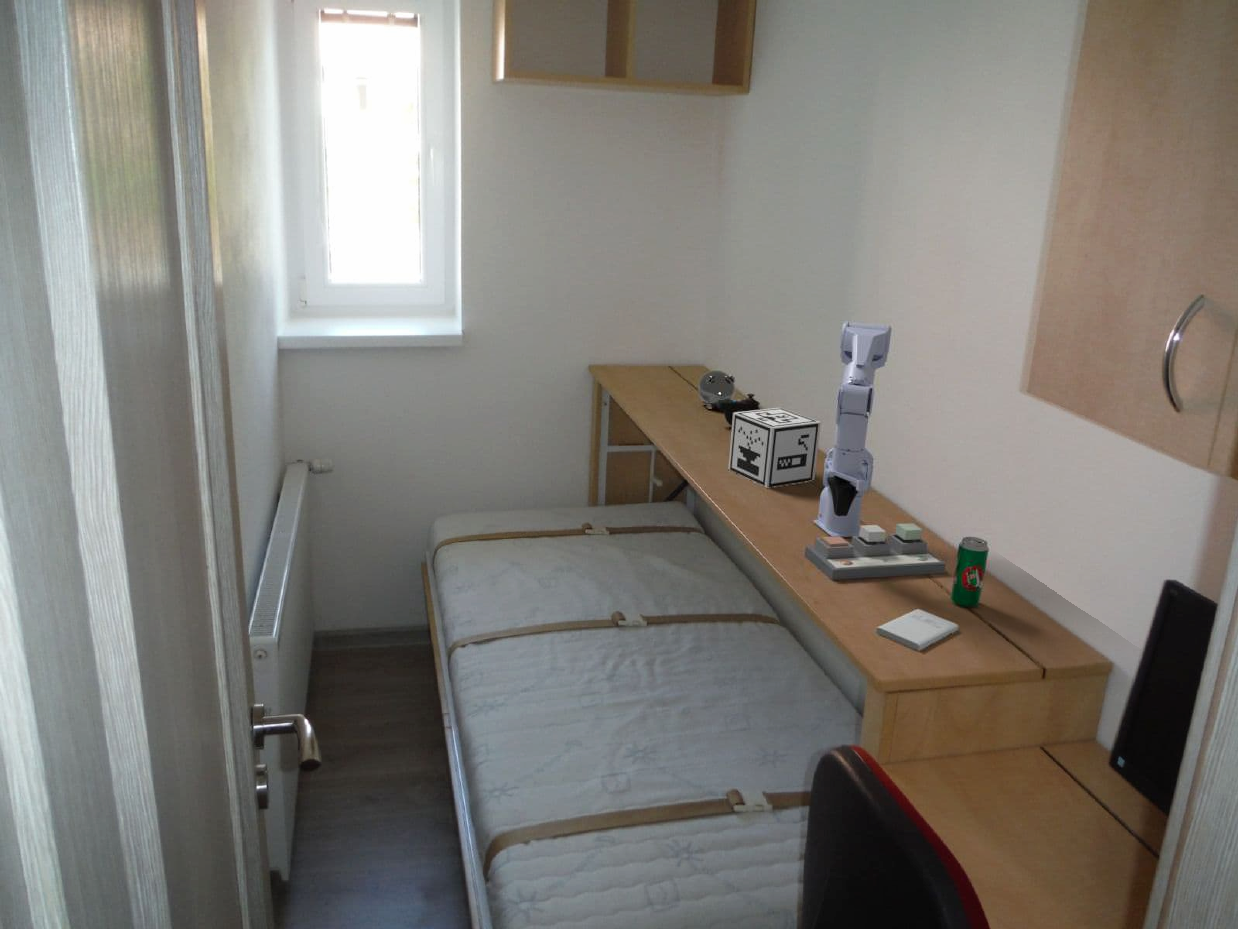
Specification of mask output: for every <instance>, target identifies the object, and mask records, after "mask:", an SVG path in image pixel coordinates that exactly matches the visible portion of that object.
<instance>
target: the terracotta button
mask: <svg viewBox="0 0 1238 929" xmlns="http://www.w3.org/2000/svg"><path fill="white" fill-rule="evenodd" d="M821 538H822V541H823V542H824V543H825V544H826V545H828V546H829V547H839V546H847V542H848V541H847V540H846V541H847V542H846V541H844V540H843V539H844V538H843V537H842V538H843V539H842V538H841V537H839V536H834V537H831V536H821Z"/></svg>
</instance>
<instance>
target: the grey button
mask: <svg viewBox="0 0 1238 929" xmlns="http://www.w3.org/2000/svg"><path fill="white" fill-rule="evenodd" d="M859 528H860V533H859V535H860V536H861V537H862V538H864V539H865V540H866V541H867V542H875V541H886V533H887V532H886V530H884V529H883V528H882V527H880V526H879V525H878V524H872V525H871V524H870V525H859Z"/></svg>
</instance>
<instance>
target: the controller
mask: <svg viewBox="0 0 1238 929" xmlns="http://www.w3.org/2000/svg"><path fill="white" fill-rule="evenodd" d="M746 395H747V396H748V397H747V398H746V399H741V398H739V399H732V400H719V401H718V403H717V406H716V407H717V408H718V409H719V410H720V411H722V412H724V418H725V420H726V422H727V423H728V425H730V426H731V427H732V420H733V413H735V412H744V411H753V410H761V409H760V406H759V405H760V404H761V403H760V402H759V401H758V400H756V399H755V398H754V397H755V394H754V393H747V394H746Z"/></svg>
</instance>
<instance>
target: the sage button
mask: <svg viewBox="0 0 1238 929" xmlns="http://www.w3.org/2000/svg"><path fill="white" fill-rule="evenodd" d="M895 534H897V535H898V536H900V537H901V538H903V539H904V540H914V539H922V536H923V535H922V534H923V529H922V528H920V526H917V525H916V524H915V523H913V522H911V523H907V522H906V523H896V527H895Z"/></svg>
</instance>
